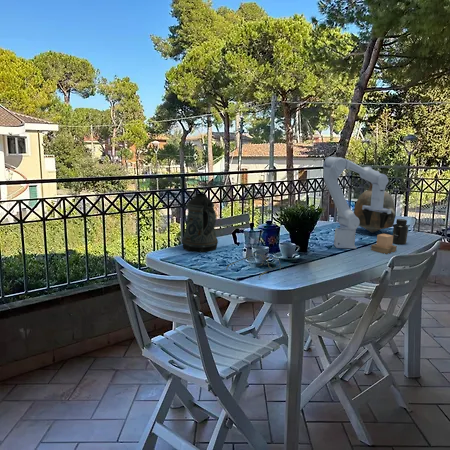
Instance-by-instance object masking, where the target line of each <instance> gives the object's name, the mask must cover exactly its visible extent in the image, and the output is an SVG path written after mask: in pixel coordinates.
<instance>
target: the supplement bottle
mask: <svg viewBox="0 0 450 450" xmlns="http://www.w3.org/2000/svg"><path fill="white" fill-rule="evenodd" d="M407 224H408V220H407V219H406V218H396V222H395V224H393V226H392V227H393V230H392V234H391V235H392V236H393V244H395V245H406V244H407V241H408V231H409V226H408V225H407Z"/></svg>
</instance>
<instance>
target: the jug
mask: <svg viewBox="0 0 450 450" xmlns="http://www.w3.org/2000/svg"><path fill="white" fill-rule="evenodd" d="M369 183H370V184H369V186H368V187H369V188H368V189H367V190H365V191H363V192H362V193H361V194H360V195H359V196H358V198H357V200H356V203H355V205H354V210H353V212H354V214H355V216H356V217H358V218H359V221H360V224H359V226H358V227H361V228H362V229H365V230H367V231H368V232H370V233H376V232H378V231H381V230H384V229H389V228H392V227H394V225H395V224H394V223H395V219H396V215H397V214H396V207H395V201H394V200H393V197H392V196H391V194H389V192H388V191H386V190H385V193H384V203H383V208H386V209H390V210H391V214H390V216H389V217H388V219H387V221H386V223H385V225H384V228H380V214H381V213H382V212H376V211H373V212H372V215H371V220H370V225H366V220H365V217H364V214H363V211H364V210H363V209H362V206H363V205H366V206H371V196H372V185H373V184H372V183H371V182H369ZM377 211H379V210H377Z"/></svg>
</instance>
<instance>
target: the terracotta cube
mask: <svg viewBox="0 0 450 450" xmlns="http://www.w3.org/2000/svg"><path fill="white" fill-rule="evenodd" d="M392 235H393V234H389V233H380V234H377V235H376V243H375V244H376V245H377V246H381V247H385V248H387V247H391V246H392V245H393V244H394V243H393V236H392Z"/></svg>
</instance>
